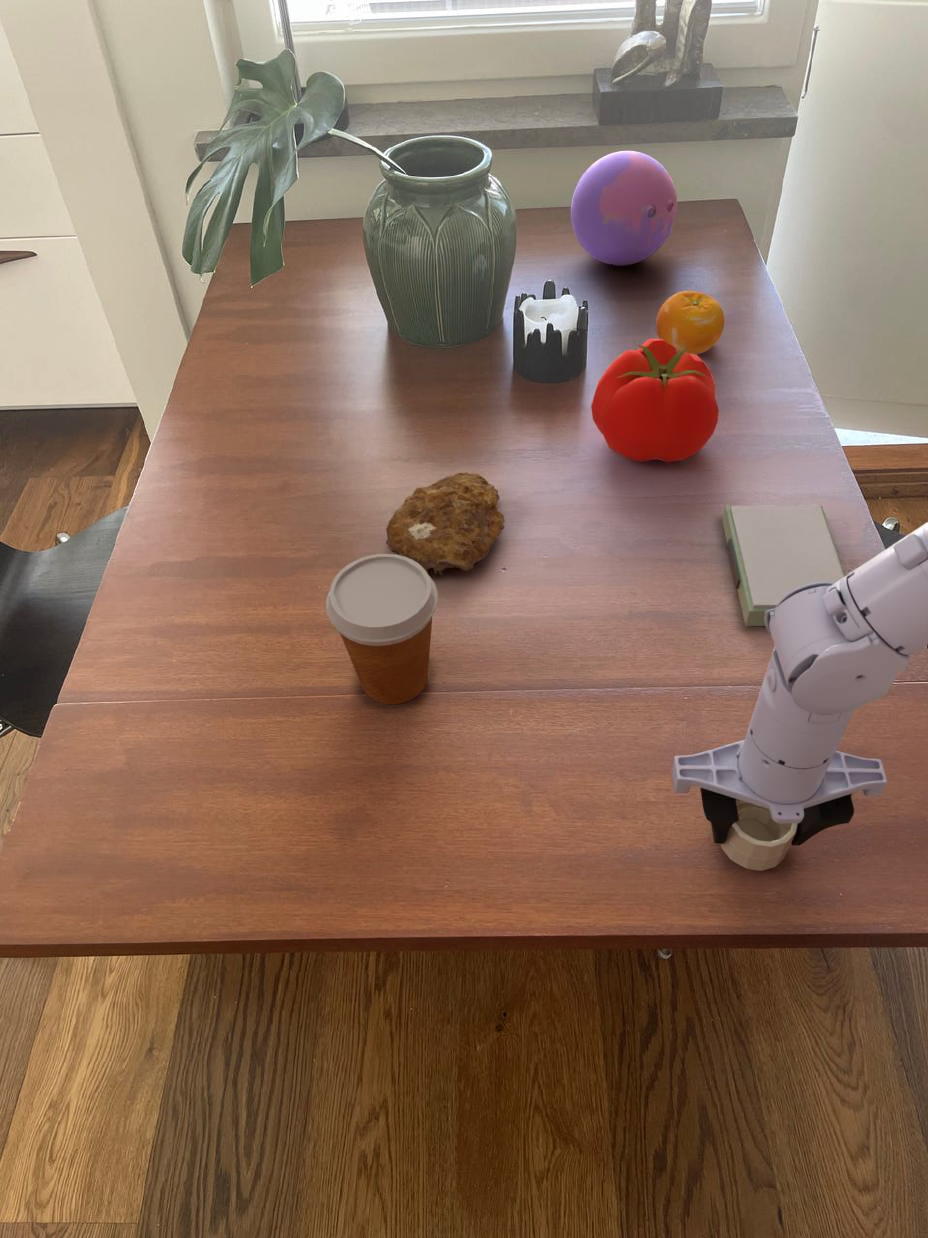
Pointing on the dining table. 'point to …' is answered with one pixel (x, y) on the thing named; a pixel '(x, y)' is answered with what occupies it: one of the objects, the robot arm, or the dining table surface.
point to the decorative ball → (624, 208)
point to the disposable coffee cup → (385, 623)
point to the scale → (777, 553)
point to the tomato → (656, 403)
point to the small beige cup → (757, 838)
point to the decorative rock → (447, 523)
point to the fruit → (690, 322)
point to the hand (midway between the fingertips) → (754, 833)
